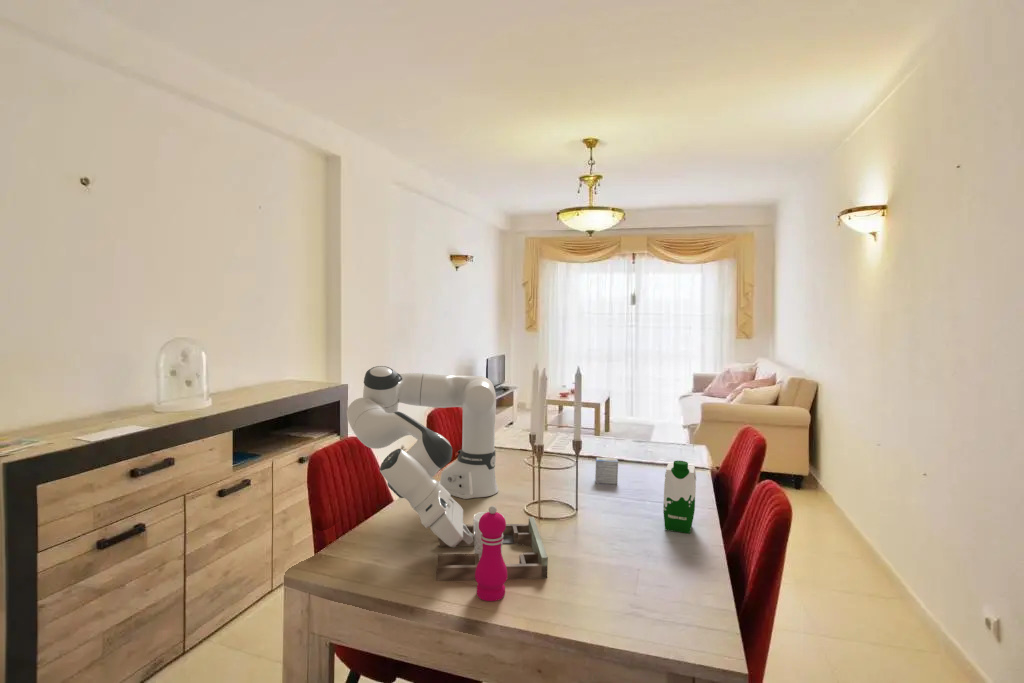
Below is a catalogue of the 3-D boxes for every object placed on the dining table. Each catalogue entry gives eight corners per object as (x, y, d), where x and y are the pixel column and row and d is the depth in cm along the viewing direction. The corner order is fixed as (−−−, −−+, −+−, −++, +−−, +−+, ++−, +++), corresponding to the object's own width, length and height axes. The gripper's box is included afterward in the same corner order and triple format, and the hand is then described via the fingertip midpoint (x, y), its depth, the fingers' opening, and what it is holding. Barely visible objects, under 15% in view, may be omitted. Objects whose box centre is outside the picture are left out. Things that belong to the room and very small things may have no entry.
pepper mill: (499, 605, 118) (501, 514, 117) (468, 598, 121) (470, 508, 120) (511, 589, 125) (514, 503, 124) (482, 583, 128) (484, 498, 126)
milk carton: (661, 530, 160) (664, 462, 159) (664, 519, 169) (666, 455, 168) (693, 535, 158) (696, 466, 156) (694, 524, 166) (697, 458, 165)
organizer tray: (436, 580, 128) (436, 559, 128) (440, 535, 153) (440, 517, 153) (547, 578, 131) (547, 557, 131) (533, 534, 156) (533, 516, 156)
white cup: (466, 554, 142) (467, 516, 142) (490, 545, 148) (490, 509, 147) (485, 565, 137) (486, 525, 136) (509, 556, 142) (510, 518, 141)
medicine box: (616, 481, 206) (617, 458, 205) (617, 484, 201) (618, 461, 201) (595, 479, 206) (595, 457, 206) (595, 483, 202) (596, 460, 201)
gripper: (427, 497, 149) (462, 532, 151) (421, 527, 129) (462, 567, 131) (444, 480, 150) (479, 516, 151) (441, 508, 129) (481, 549, 131)
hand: (471, 540), depth 141 cm, fingers closed
